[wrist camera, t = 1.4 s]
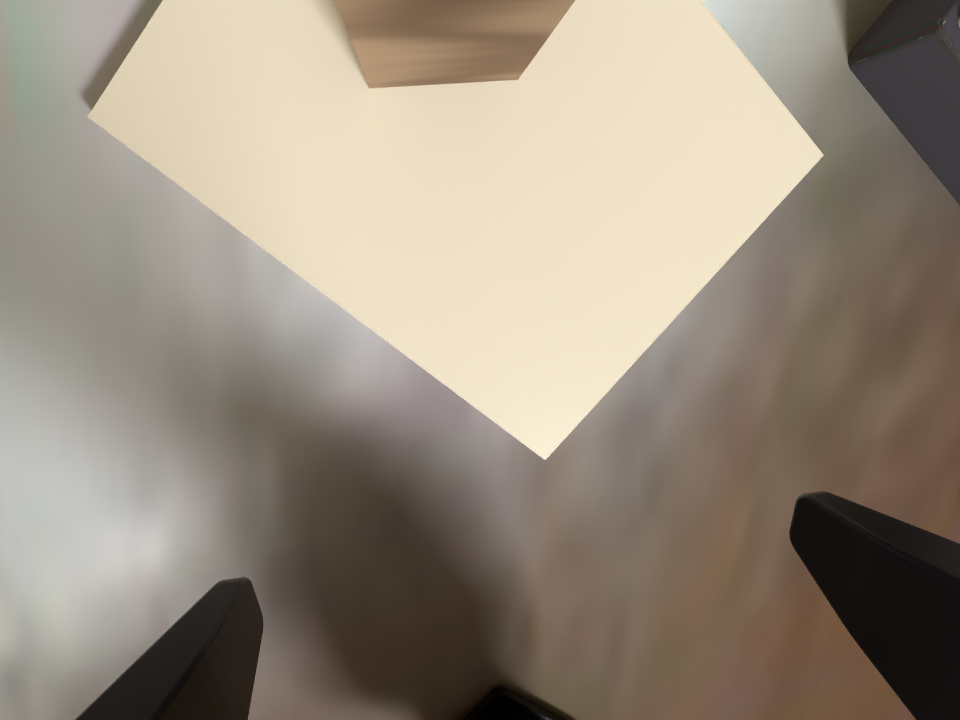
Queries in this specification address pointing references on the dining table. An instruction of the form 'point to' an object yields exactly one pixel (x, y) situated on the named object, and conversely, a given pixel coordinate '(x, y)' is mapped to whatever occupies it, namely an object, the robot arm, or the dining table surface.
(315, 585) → the dining table surface
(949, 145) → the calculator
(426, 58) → the walnut block
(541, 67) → the placemat
